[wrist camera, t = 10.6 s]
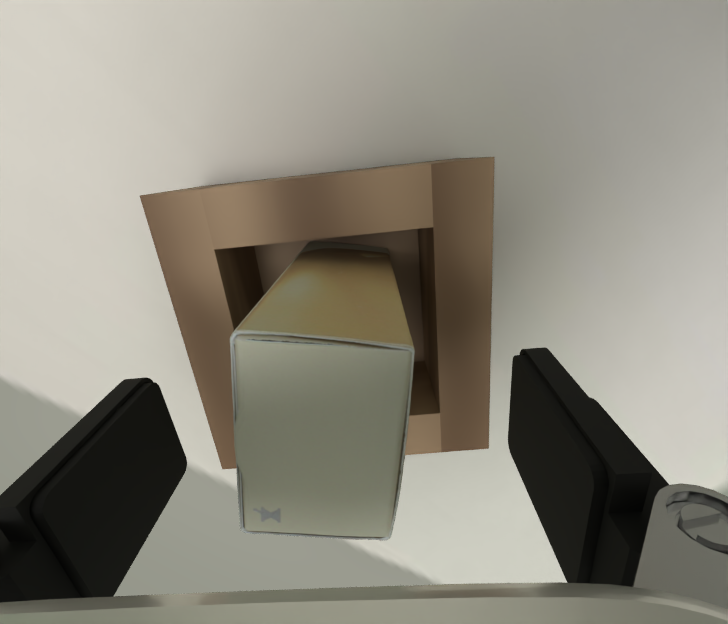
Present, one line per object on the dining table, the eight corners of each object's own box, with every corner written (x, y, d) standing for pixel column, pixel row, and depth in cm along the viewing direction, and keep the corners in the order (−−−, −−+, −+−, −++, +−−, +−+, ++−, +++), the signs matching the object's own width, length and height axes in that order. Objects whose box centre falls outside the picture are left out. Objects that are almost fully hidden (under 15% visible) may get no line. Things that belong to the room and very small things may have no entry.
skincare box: (379, 351, 22) (393, 553, 11) (303, 346, 22) (237, 544, 11) (390, 240, 20) (423, 347, 8) (305, 233, 20) (223, 333, 8)
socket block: (457, 158, 19) (494, 156, 14) (459, 381, 24) (488, 448, 18) (203, 186, 20) (139, 195, 14) (255, 398, 24) (222, 469, 19)
